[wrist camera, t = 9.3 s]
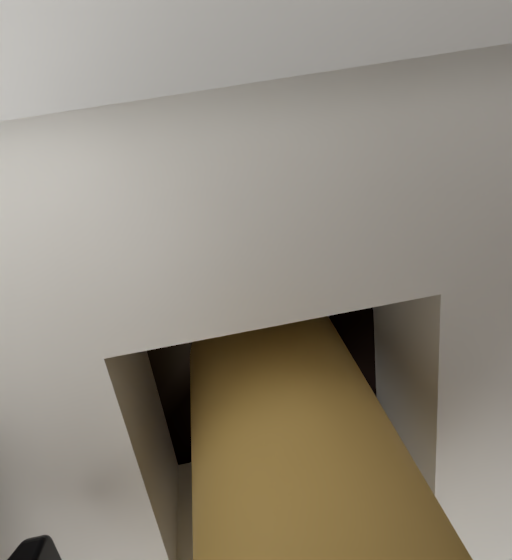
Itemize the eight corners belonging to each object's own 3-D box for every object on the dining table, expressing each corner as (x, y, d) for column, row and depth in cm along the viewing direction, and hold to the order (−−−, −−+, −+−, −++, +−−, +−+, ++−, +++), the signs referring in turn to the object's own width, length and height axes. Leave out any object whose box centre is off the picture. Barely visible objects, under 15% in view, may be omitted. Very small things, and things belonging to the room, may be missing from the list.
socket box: (56, 610, 15) (-13, 905, 10) (-210, 83, 9) (-868, 96, 3) (518, 505, 16) (684, 717, 11) (591, -31, 10) (1093, -163, 4)
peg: (204, 429, 13) (228, 856, 6) (175, 304, 12) (159, 686, 4) (341, 401, 14) (522, 777, 6) (332, 276, 12) (561, 589, 5)
